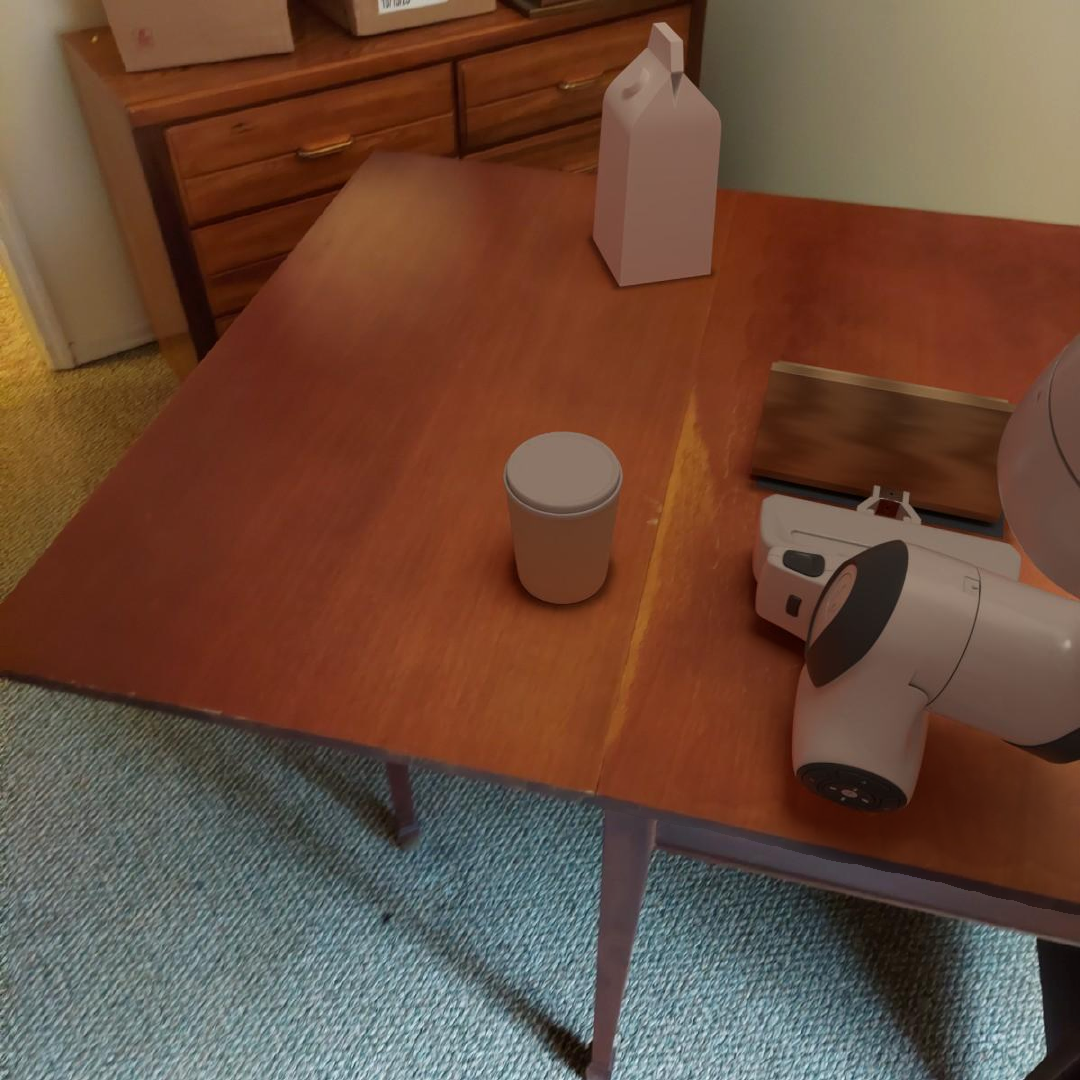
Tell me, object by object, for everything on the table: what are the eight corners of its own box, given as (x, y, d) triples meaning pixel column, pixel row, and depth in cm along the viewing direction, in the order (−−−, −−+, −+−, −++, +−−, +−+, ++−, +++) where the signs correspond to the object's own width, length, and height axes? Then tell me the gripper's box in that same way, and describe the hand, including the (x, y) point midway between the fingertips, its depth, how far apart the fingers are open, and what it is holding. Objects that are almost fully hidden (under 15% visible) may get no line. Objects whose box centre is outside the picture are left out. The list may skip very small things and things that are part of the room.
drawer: (993, 433, 95) (1040, 324, 86) (993, 529, 86) (1046, 418, 76) (771, 393, 100) (793, 285, 91) (748, 479, 91) (770, 369, 81)
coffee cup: (638, 568, 83) (647, 464, 74) (566, 630, 78) (567, 527, 69) (558, 517, 87) (558, 413, 79) (486, 573, 83) (477, 469, 74)
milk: (710, 274, 116) (740, 46, 98) (619, 286, 114) (632, 57, 96) (678, 227, 124) (699, 8, 106) (592, 238, 123) (599, 18, 104)
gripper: (1036, 621, 67) (1033, 493, 76) (746, 554, 72) (776, 441, 81) (1005, 674, 72) (1007, 547, 81) (735, 608, 77) (765, 495, 86)
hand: (889, 494), depth 81 cm, fingers closed
